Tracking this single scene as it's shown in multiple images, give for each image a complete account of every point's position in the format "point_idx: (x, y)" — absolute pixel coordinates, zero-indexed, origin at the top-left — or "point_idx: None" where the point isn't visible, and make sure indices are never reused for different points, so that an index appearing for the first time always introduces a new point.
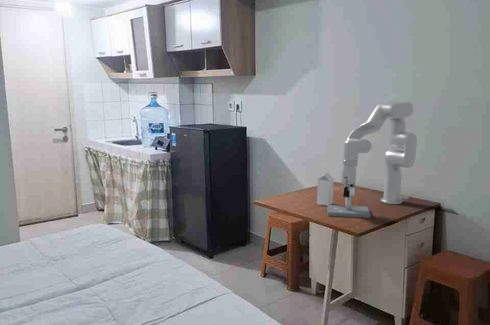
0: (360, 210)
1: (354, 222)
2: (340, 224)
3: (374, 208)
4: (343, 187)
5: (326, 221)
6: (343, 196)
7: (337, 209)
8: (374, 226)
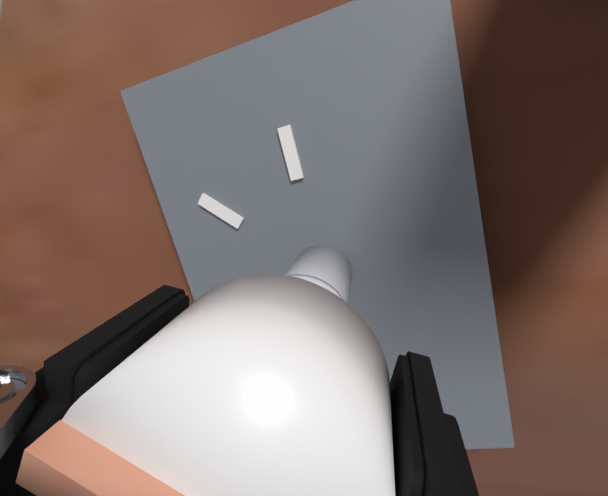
0: None
1: None
2: (10, 246)
3: (595, 483)
4: (130, 372)
5: (5, 130)
6: (166, 287)
7: (267, 167)
8: None
